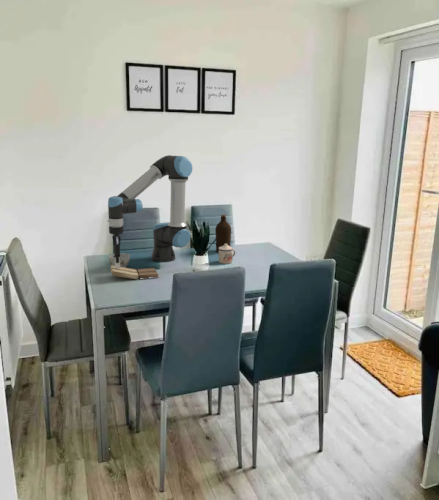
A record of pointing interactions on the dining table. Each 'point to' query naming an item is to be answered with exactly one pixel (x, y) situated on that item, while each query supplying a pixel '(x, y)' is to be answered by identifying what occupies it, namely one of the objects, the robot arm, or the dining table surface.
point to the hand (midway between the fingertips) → (117, 268)
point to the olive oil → (222, 233)
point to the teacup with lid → (226, 254)
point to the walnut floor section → (147, 272)
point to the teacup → (123, 259)
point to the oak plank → (124, 272)
